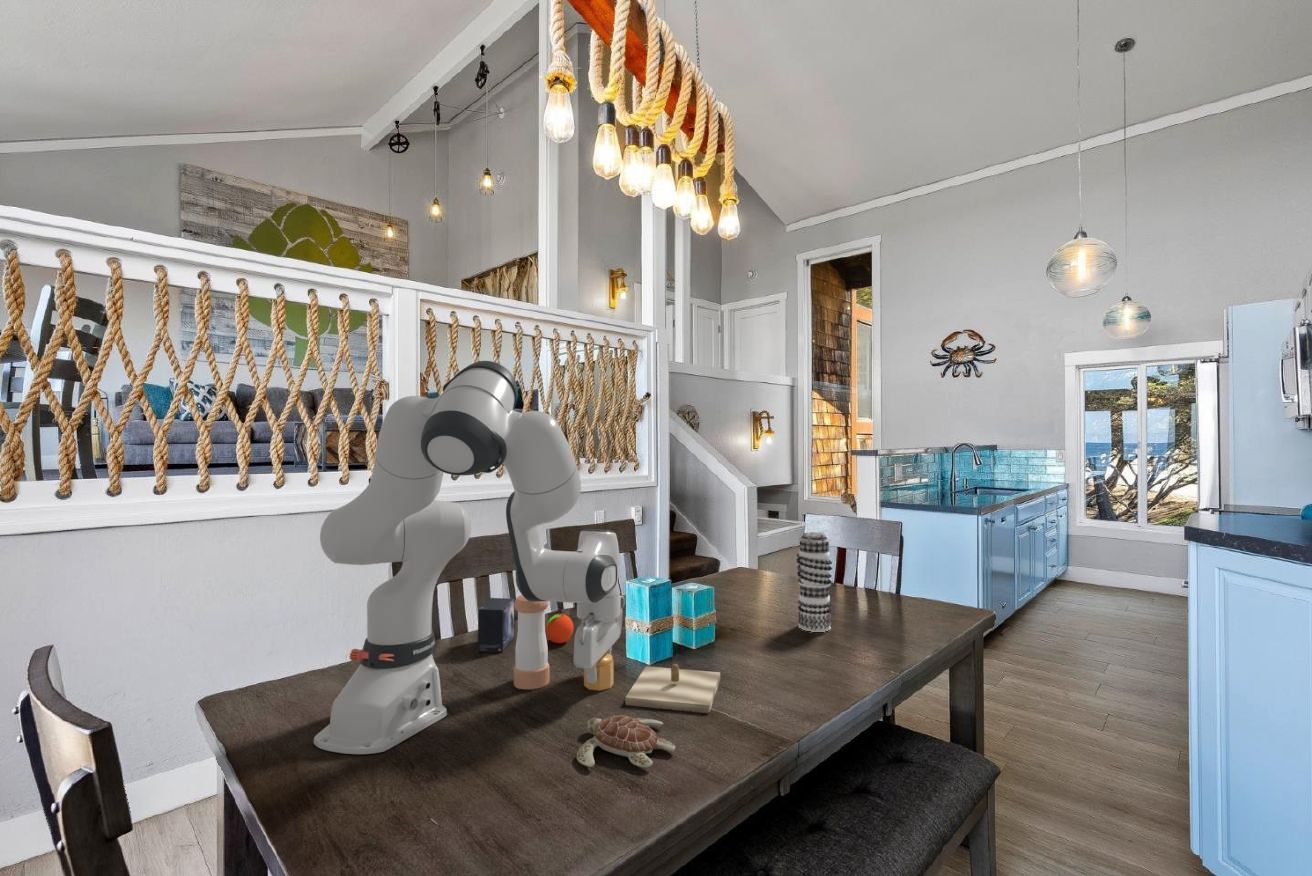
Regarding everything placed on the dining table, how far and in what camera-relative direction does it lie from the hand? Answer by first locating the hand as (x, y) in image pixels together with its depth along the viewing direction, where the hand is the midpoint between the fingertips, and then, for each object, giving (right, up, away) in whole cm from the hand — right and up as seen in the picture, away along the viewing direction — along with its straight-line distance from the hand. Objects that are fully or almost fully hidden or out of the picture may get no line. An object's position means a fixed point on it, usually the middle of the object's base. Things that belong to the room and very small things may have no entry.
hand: (598, 674), depth 125 cm
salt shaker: (-14, -2, +1) cm, 14 cm away
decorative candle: (+54, -2, +37) cm, 65 cm away
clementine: (-13, -2, +26) cm, 29 cm away
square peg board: (+16, -2, -4) cm, 16 cm away
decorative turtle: (+6, -3, -25) cm, 26 cm away
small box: (-27, -3, +24) cm, 36 cm away
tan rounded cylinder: (0, -2, 0) cm, 2 cm away
